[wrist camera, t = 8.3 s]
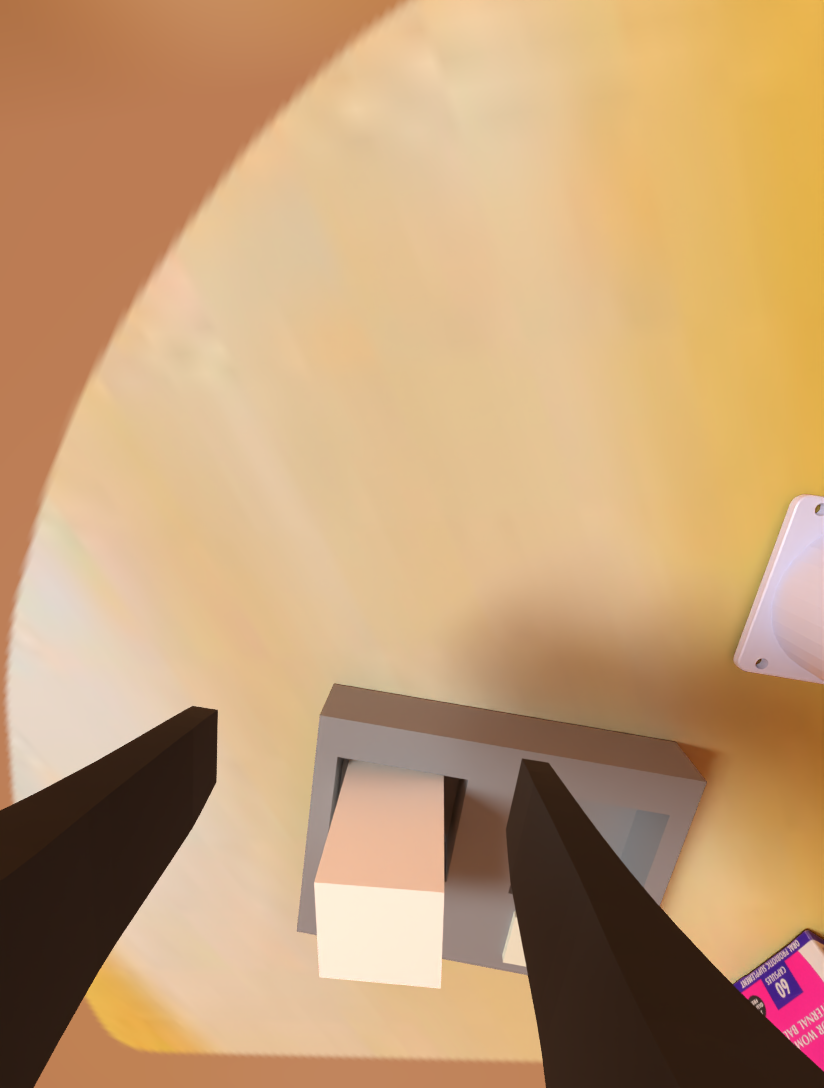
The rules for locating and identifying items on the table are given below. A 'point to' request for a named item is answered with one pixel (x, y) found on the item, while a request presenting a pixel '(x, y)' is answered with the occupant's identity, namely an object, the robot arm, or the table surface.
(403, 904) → the plug block
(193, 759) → the robot arm
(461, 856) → the organiser tray
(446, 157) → the table surface
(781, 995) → the supplement box
